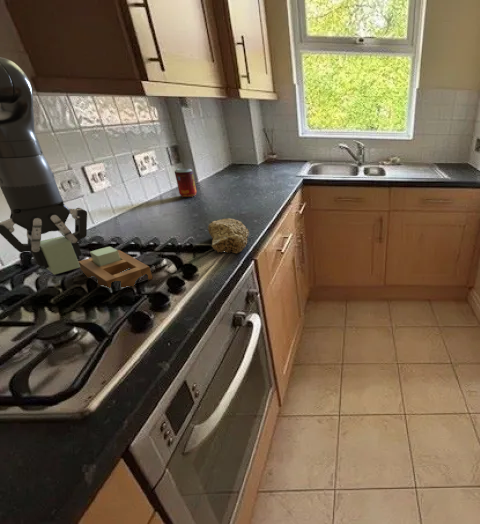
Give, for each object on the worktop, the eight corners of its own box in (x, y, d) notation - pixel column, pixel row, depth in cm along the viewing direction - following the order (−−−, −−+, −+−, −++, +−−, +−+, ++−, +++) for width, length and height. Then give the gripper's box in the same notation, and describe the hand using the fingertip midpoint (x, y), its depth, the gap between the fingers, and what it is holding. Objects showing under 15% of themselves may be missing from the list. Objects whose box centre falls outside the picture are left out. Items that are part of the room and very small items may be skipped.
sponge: (251, 257, 99) (253, 222, 114) (242, 236, 94) (245, 202, 109) (206, 267, 97) (214, 230, 112) (194, 246, 92) (205, 211, 107)
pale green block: (53, 275, 67) (42, 247, 64) (46, 268, 69) (34, 242, 66) (80, 267, 70) (70, 241, 67) (72, 261, 72) (62, 235, 69)
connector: (110, 294, 76) (106, 281, 75) (82, 273, 84) (77, 261, 83) (152, 278, 83) (149, 266, 81) (122, 261, 91) (119, 249, 89)
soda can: (181, 194, 153) (175, 167, 148) (198, 194, 155) (193, 167, 150) (178, 198, 147) (172, 170, 142) (196, 198, 149) (190, 170, 144)
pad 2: (105, 277, 83) (97, 256, 80) (97, 272, 85) (89, 251, 82) (124, 271, 86) (117, 250, 83) (116, 266, 88) (109, 246, 85)
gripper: (67, 172, 69) (94, 247, 76) (-35, 183, 58) (8, 269, 65) (82, 177, 65) (108, 256, 72) (-24, 190, 54) (20, 281, 62)
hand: (61, 262), depth 69 cm, fingers closed on pale green block, 4 cm apart
